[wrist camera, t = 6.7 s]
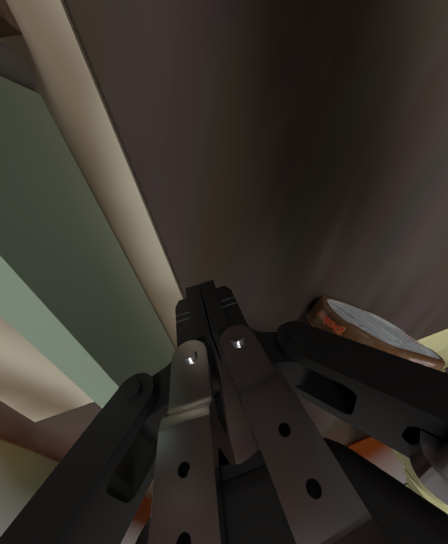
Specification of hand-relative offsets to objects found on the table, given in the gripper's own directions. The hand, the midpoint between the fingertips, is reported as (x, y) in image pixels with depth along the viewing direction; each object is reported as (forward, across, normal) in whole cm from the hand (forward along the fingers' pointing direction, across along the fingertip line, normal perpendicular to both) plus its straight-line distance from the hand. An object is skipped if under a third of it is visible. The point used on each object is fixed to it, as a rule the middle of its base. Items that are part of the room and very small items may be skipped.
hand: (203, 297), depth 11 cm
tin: (+6, -15, +13) cm, 21 cm away
